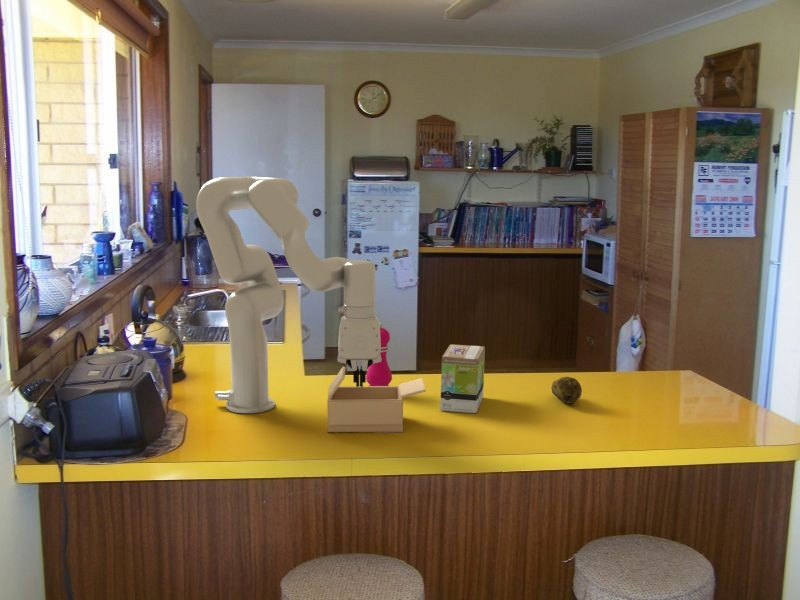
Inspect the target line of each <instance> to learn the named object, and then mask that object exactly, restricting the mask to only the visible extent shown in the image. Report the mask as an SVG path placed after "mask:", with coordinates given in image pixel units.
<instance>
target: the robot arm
mask: <svg viewBox="0 0 800 600" xmlns="http://www.w3.org/2000/svg"><path fill="white" fill-rule="evenodd" d="M298 199H299V192H298V189H297V187H296V186H295V184H294V183H293V182H292V181H290V180H288V179H287V178H283V177H265V176H225V177H223V176H222V177H216V178H213V179H210V180H209V181H207V182H206V183H204V184H203V185H202V186H201V188H200V189H199V191H198V194H197V196H196V202H195V208H196V214H197V218H198V220H199V222H200V224H201V228H202V229H203V232H204V234H205V236H206V240H207V242H208V246H209V248H210V249H209V250H210V251H211V254H212V257H213V261H214V262H215V267H216V269H217V272H218V274H219V276H220V279H221V280H222V281H223V282H224V283H226V284H228V285H239V284H243V283H244V284H245V283H246V285H247V286H246V287H242V288H239V289H237V290H235V291H233V292H231V294H230V295H229V296H228V298H227V299H226V302H225V304H224V305H225V307H224V308H225V309H224V310H225V316H226V317H225V318H226V322H227V325H228V332H229V333H228V335H229V345H230V346H229V349H230V352H229V353H230V381H231V388H230V390H226V391H223V390H219V391H217V390H216V391H215V392H214V398H215V399H217V400H218V401H226V403H225V408H226V409H227V410H228V411H229V412H233V413H236V414H257V413H258V414H259V413H264V412H267V411H271V410H272V409H273V408H275V405H276V404H275V399H273V398H272V397H269V361H268V359H269V356H268V336H267V333H266V330H265V328H264V325H263V322H264V321H266V320H269V319H273V318H274V317H276V316H279V314H280V313H281V312H282V311H283V308H284V303H285V299H284V293H283V290H282V287H281V283H280V281H279V277H278V274H277V272H276V268H275V266H274V262H273V260H272V258H271V256H270V255H269V252H267V250H266V249H265V248H264V247H262V246H261V245H258V244H254V243H253V244H251V243H250V244H246V243H245V242H244V238H243V236H242V233H241V230H240V227H239V226H238V224H237V222H236V221H235V220H234V218H232V216H231V215H230V211H239V210H247V209H248V210H254V211H255V212H256V213H257V215H258V216H260V218H261V219H262V220H263V222H264V223H266V225H267V226H268V227H269V229H270V230H271V231H272V232H273V233H274V235H276V237H277V238H278V239H279V240H280V242H281V244H282V251H283V254H284V257H285V260H286V262H287V265H288V266H289V268H290V269H291V271H292V272H293V273H294V274H295V276H296V277H297V278H298V280H300V281H301V283H303V285H304V286H305V287H307V288H308V289H309V290H311V291H313V292H316V293H324V292H328V291H331V290H334V289H339V288H342V287H343V305H342V306H338V307H337V313H338V314H339V313H341V314H342V316H341V318H340V321H339V328H338V341H337V342H338V346H337V347H338V348H337V349H338V355H337V360H336V361H337V362H338V363H341V364H346V365H347V366H348V367H349V368H350V369H351V370H352V371H353V380H352V381H353V383H355V386H356V387H358V386H361V387H363V386H364V385H363V384H365V383H367V380H366V374H367V371H368V368H369V366H371V365H372V364H373V363H378V362H381V355H380V352H381V341H380V326H379V322H380V321H379V317H378V316H376V266H375V262H372V261H370V260H365V259H364V260H363V259H356V260H355V259H350V258H347V257H341V256H333V257H329V258H328V257H327V258H323V259H320V258H319V257H318V256H317V254H316V253H315V252H314V251H313V250H312V249H311V246H309V244H308V242H307V239H306V232H307V230H308V229H309V226H310V221H309V219H308V218H307V216H306V215H305V214H304V213H303V212H302V210H301V209H300V208H299V207H298V206H297V204H298V201H299V200H298ZM359 360H361V361H362V363H361V366H360V368H359V366H358V362H357V361H359Z"/></svg>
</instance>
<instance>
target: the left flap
mask: <svg viewBox="0 0 800 600" xmlns="http://www.w3.org/2000/svg"><path fill="white" fill-rule="evenodd" d="M345 377H346V366H342V367H341V369H340V370H339V371H338V372H337V375H336V376H335V377H334V379H332V381H331V382H330V384H329V387H328V392H329V395H328V394H327V398H328V397H329V398H331V397H332V395H333V394H334V392H335V391H336V390H337V388H338V387H339V386H340V385H341V384H342V383H343V381H344V380H345Z"/></svg>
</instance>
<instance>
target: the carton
mask: <svg viewBox="0 0 800 600" xmlns="http://www.w3.org/2000/svg"><path fill="white" fill-rule="evenodd" d="M328 395H329V391H328V393H327V402H326V403H327V407H326V409H327V433H328V432H375V433H403V432H404V398H401V393H400V387H399V385H389V386H369V385H365V386H364V385H363V387H361V386H360V385H359V386H358V387H356V385H355V386H353V385H352V386H351V385H350V386H348V385H347V386H346V385H345V386H340V385H339V387H338V388H337V390H336V391H335V392H334V394H333V395H332V397H331V398H329V397H328Z"/></svg>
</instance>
